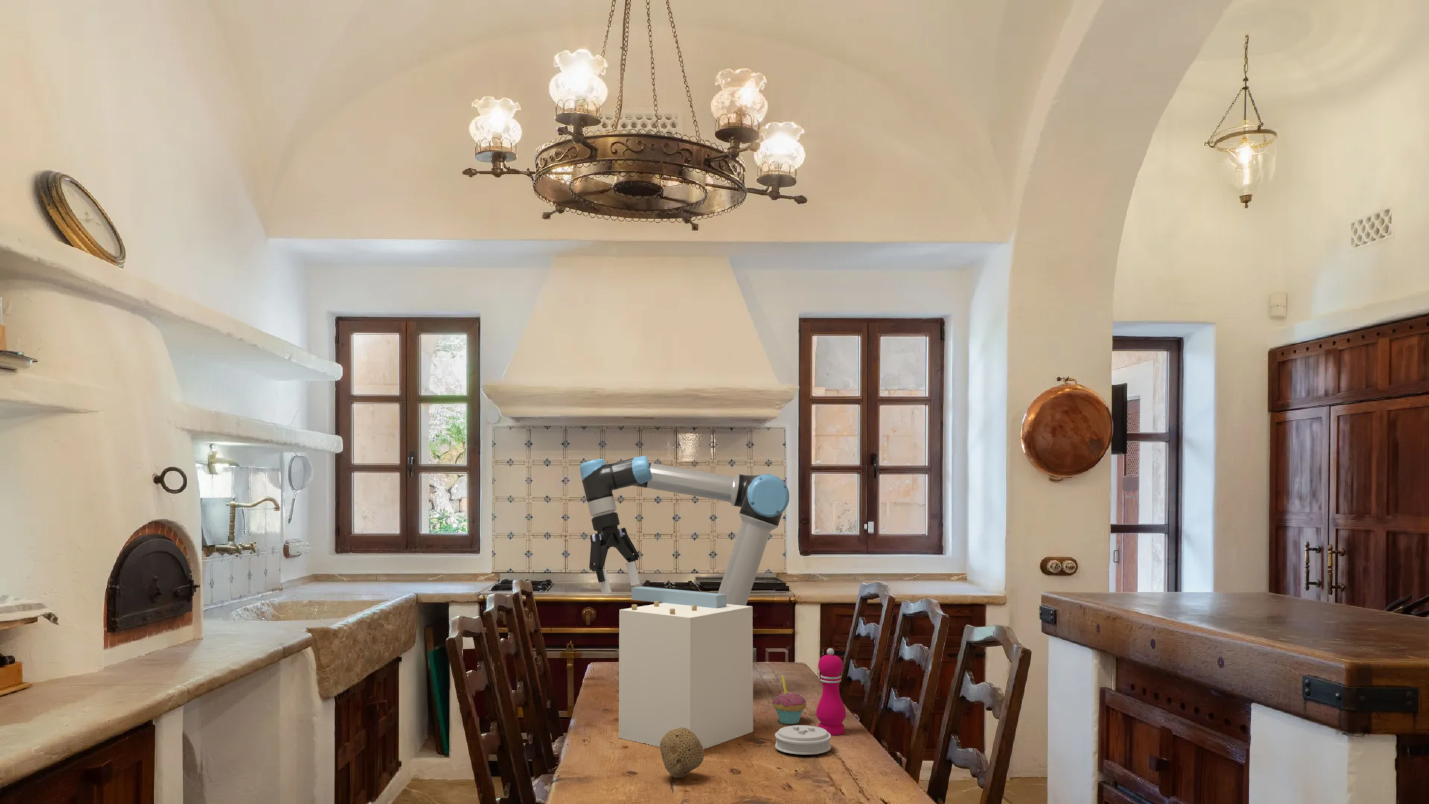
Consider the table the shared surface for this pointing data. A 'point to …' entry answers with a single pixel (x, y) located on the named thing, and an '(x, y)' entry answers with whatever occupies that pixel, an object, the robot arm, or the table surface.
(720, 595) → the batten
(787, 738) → the lid
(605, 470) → the robot arm
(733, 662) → the plinth
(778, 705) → the cupcake
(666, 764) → the natural sponge
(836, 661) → the pepper mill
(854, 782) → the table surface
